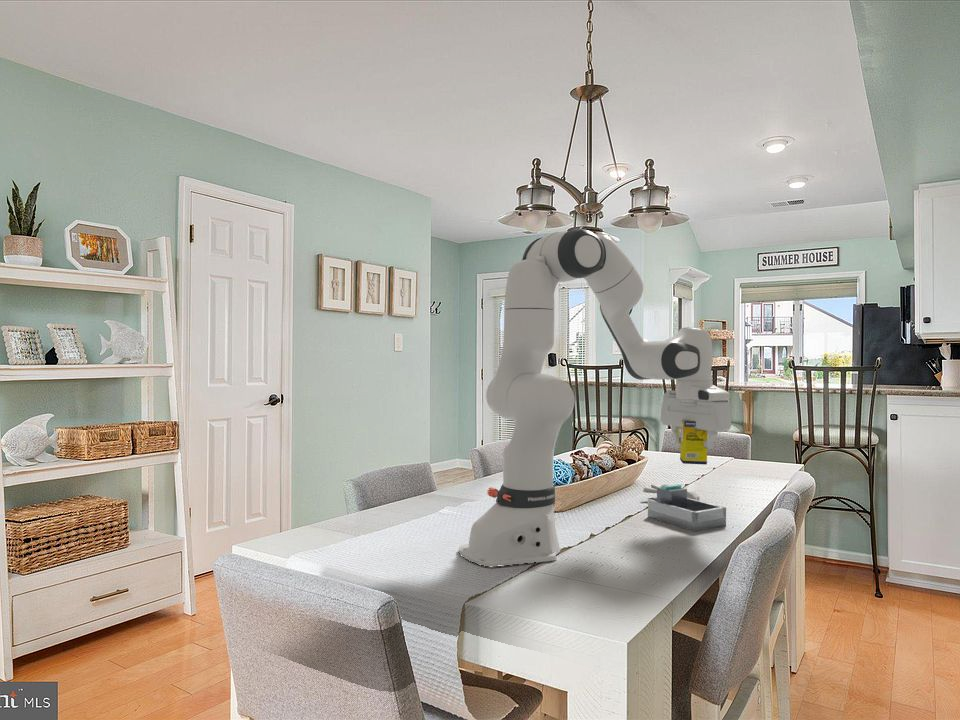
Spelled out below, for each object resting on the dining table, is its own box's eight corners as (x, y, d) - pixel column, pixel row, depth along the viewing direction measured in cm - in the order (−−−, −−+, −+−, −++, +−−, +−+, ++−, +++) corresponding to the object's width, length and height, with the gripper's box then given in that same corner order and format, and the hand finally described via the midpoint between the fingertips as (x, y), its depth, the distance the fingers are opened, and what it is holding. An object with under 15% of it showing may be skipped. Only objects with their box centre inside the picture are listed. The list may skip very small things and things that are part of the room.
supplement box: (707, 465, 163) (708, 421, 163) (682, 464, 164) (683, 420, 164) (703, 461, 169) (704, 418, 169) (679, 460, 170) (680, 418, 170)
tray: (695, 531, 159) (695, 497, 159) (647, 516, 173) (648, 485, 173) (725, 525, 165) (726, 492, 165) (677, 511, 179) (678, 481, 179)
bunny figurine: (692, 494, 182) (641, 481, 191) (690, 512, 182) (639, 498, 191) (704, 489, 189) (654, 476, 198) (701, 506, 190) (652, 493, 199)
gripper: (655, 389, 174) (654, 442, 174) (717, 394, 156) (717, 452, 156) (672, 389, 177) (672, 440, 177) (735, 393, 159) (735, 450, 159)
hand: (693, 446), depth 167 cm, fingers closed on supplement box, 8 cm apart
